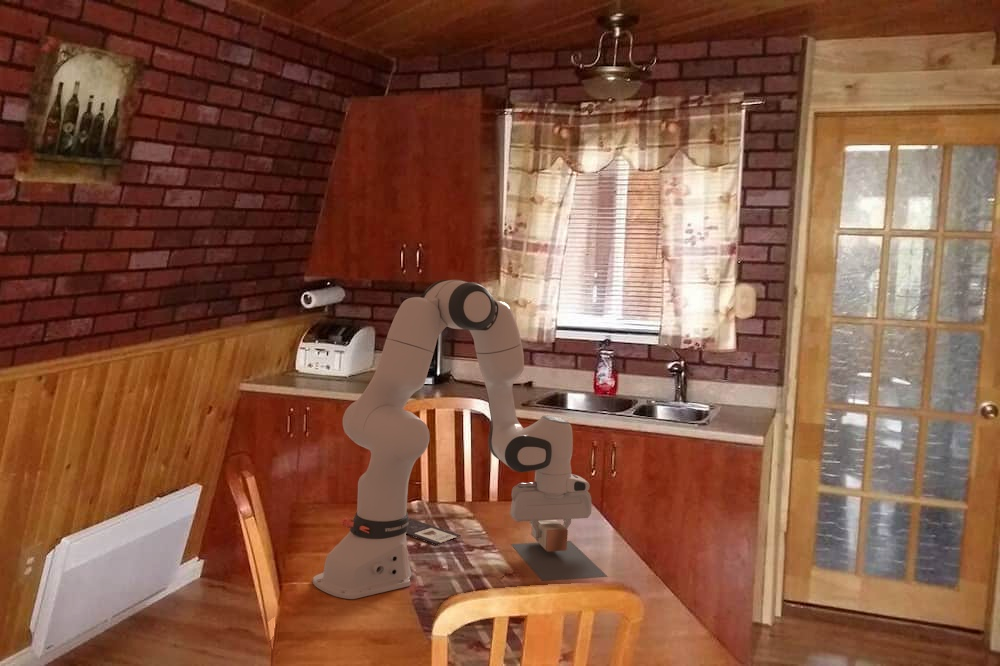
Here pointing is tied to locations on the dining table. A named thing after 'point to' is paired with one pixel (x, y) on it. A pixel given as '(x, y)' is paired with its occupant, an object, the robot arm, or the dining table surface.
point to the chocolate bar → (428, 532)
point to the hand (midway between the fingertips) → (549, 536)
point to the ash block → (552, 535)
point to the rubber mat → (558, 562)
